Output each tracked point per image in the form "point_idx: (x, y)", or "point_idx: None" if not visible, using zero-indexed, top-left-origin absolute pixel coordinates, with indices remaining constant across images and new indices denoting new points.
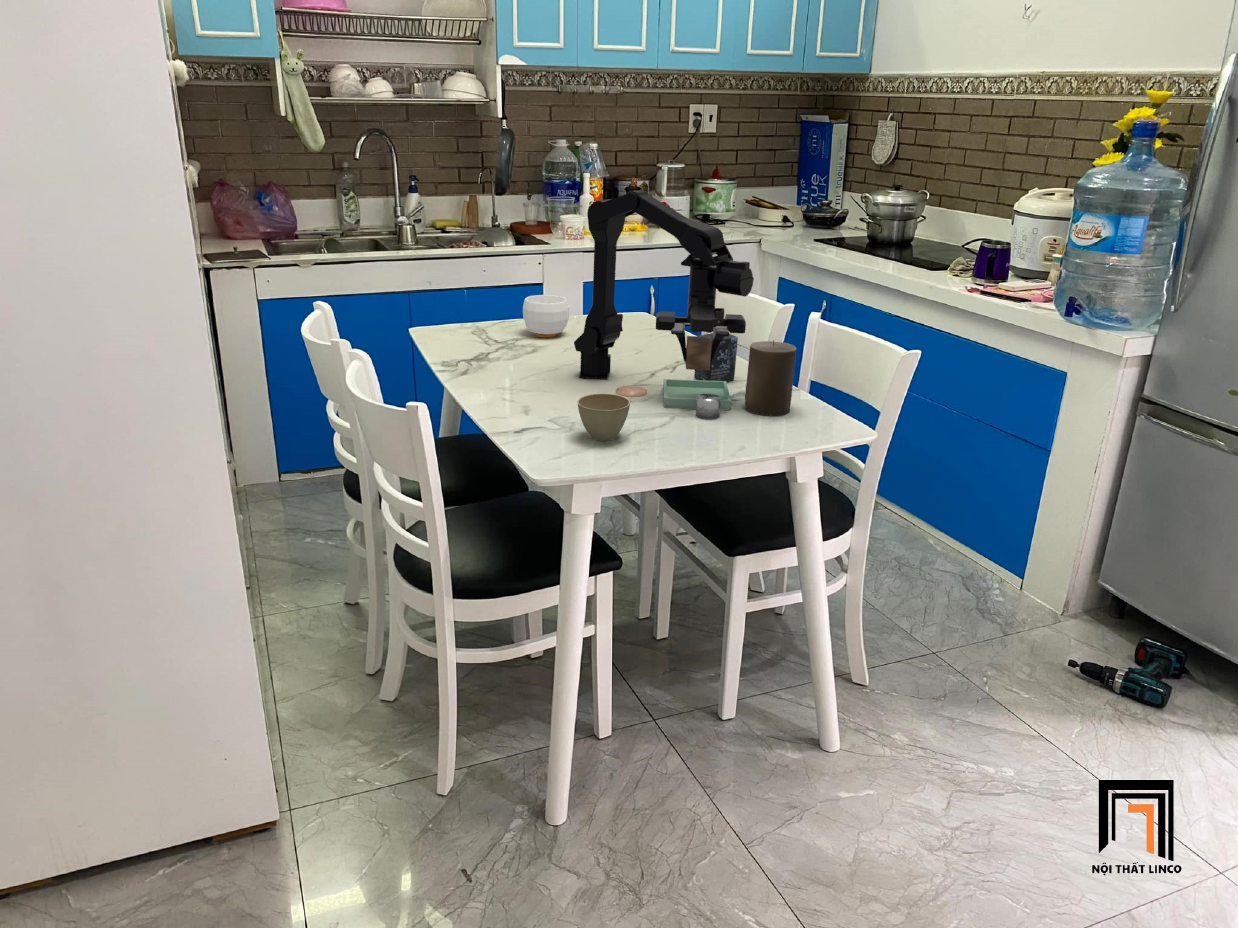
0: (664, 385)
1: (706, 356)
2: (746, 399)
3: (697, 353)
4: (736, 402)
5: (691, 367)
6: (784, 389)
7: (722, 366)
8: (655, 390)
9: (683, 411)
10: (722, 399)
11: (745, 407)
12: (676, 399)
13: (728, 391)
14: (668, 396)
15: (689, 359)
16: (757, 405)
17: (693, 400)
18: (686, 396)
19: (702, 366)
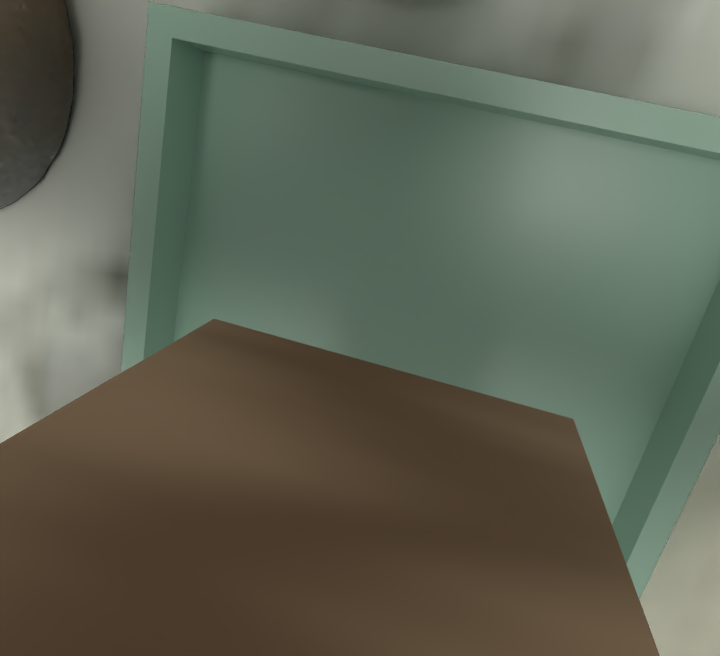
0: (659, 543)
1: (150, 433)
2: (5, 4)
3: (349, 544)
4: (117, 229)
5: (488, 408)
6: None
7: None
8: (662, 599)
9: (634, 15)
10: (208, 248)
11: (65, 34)
12: (706, 116)
13: (128, 290)
14: (650, 390)
15: (546, 505)
16: None
17: (517, 80)
18: (484, 365)
19: (302, 370)
